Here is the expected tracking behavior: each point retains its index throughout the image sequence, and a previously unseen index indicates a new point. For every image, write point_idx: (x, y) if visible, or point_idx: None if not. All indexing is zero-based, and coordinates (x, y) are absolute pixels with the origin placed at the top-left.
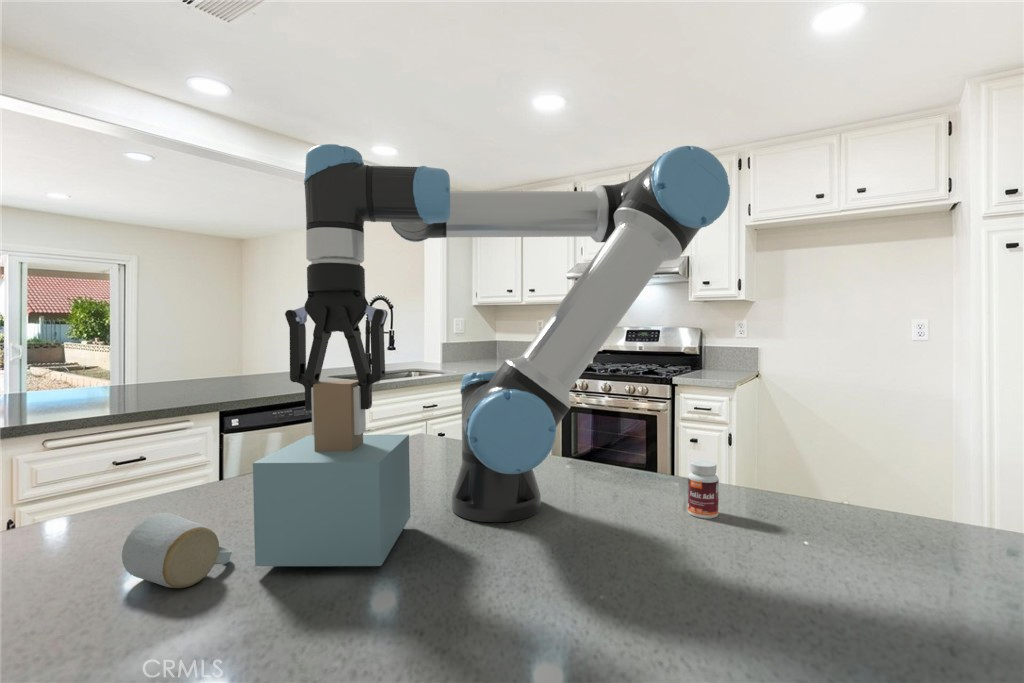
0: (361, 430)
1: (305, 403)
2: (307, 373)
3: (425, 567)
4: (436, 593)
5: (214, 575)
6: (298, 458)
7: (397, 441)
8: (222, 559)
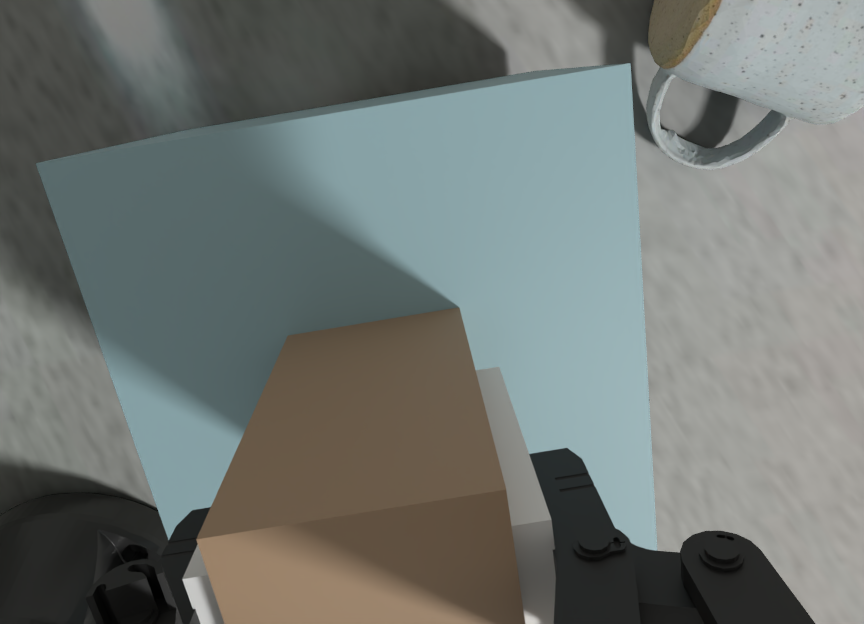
0: None
1: (582, 467)
2: (615, 601)
3: None
4: (10, 69)
5: (645, 59)
6: (460, 175)
7: None
8: (651, 91)
